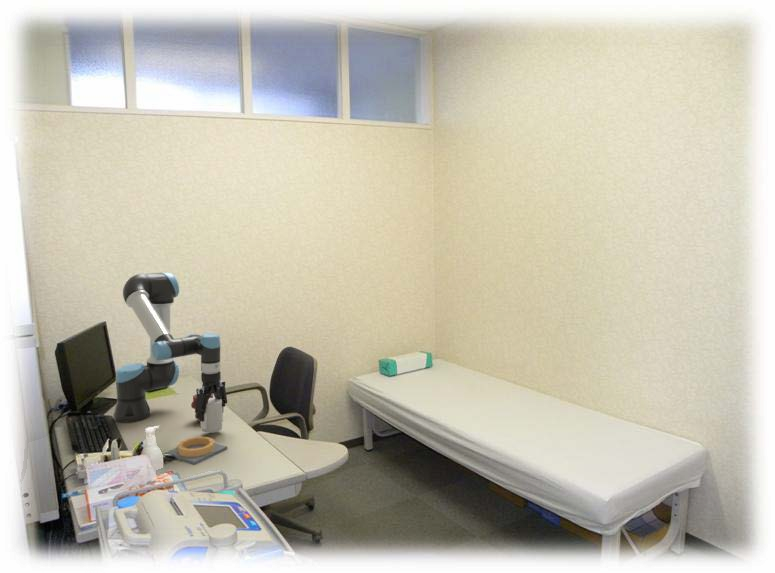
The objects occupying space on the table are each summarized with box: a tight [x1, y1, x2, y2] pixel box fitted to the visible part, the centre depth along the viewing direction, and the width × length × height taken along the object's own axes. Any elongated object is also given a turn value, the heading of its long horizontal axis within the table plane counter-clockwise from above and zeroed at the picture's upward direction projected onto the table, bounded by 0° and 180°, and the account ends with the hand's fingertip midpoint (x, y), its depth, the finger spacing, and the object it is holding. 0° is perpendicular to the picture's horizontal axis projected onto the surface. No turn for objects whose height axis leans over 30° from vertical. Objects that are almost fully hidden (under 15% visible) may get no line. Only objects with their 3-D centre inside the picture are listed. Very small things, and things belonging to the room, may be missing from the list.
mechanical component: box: [190, 393, 214, 424], centre depth 242 cm, size 12×10×10 cm
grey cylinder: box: [201, 397, 223, 434], centre depth 226 cm, size 8×8×12 cm
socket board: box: [164, 436, 228, 465], centre depth 208 cm, size 16×16×4 cm
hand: (211, 424), depth 226 cm, fingers closed on grey cylinder, 8 cm apart
